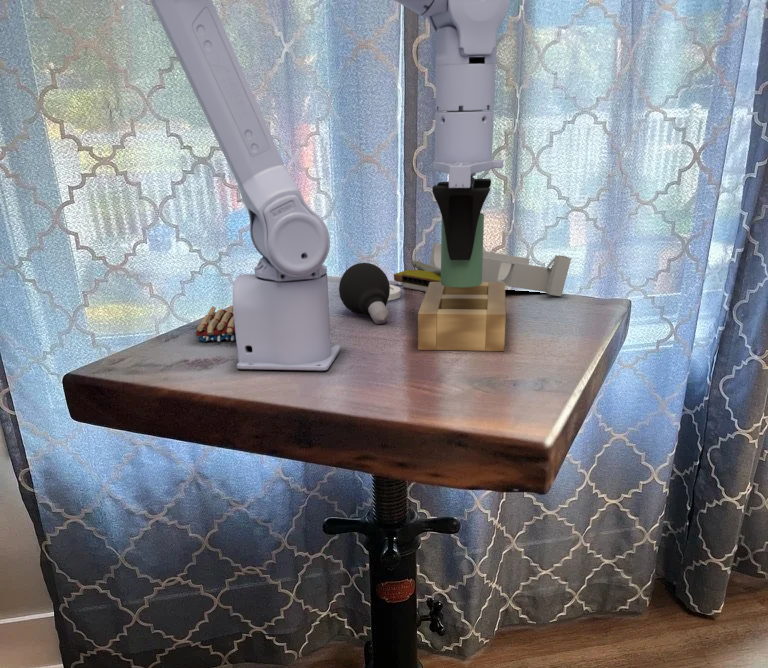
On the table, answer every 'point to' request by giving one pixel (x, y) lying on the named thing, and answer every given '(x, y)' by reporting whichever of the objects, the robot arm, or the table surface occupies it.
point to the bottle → (463, 261)
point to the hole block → (463, 318)
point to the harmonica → (417, 279)
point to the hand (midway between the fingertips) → (461, 255)
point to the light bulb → (366, 291)
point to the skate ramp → (517, 271)
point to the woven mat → (217, 325)
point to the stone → (424, 267)
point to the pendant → (394, 292)
